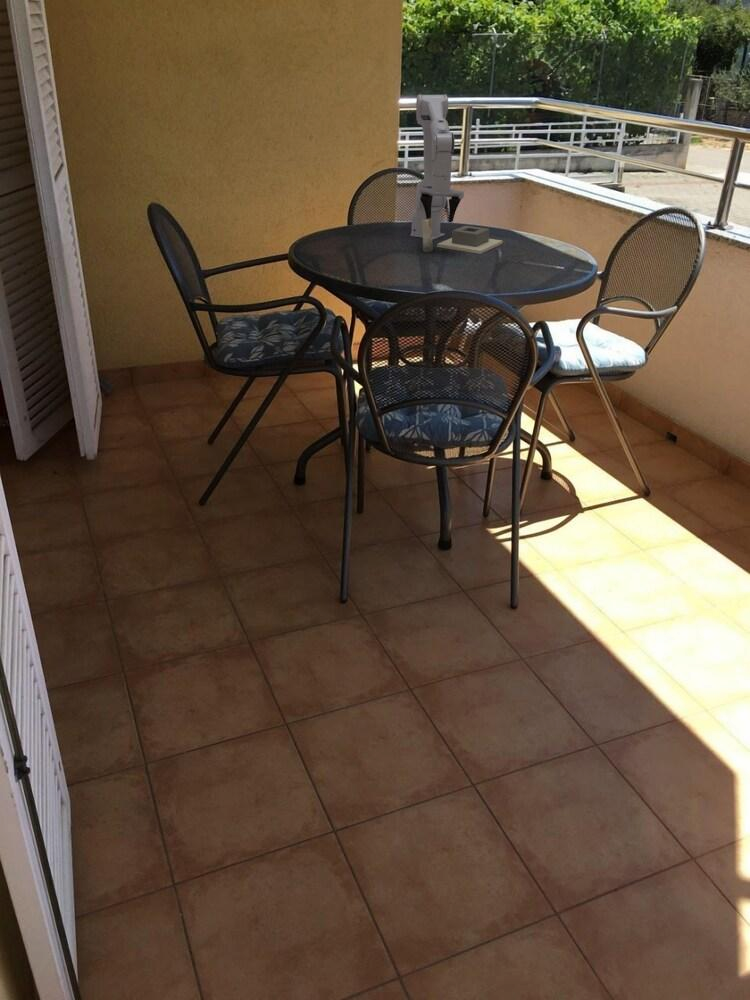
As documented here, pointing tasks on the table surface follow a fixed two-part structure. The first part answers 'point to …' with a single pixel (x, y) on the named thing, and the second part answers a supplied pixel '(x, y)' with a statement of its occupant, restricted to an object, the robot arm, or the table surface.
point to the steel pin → (427, 234)
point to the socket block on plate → (470, 240)
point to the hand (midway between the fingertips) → (439, 220)
